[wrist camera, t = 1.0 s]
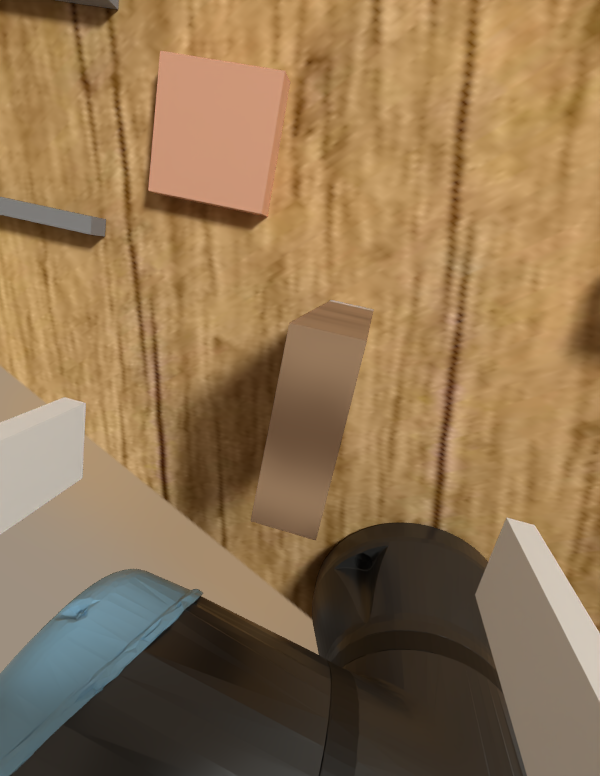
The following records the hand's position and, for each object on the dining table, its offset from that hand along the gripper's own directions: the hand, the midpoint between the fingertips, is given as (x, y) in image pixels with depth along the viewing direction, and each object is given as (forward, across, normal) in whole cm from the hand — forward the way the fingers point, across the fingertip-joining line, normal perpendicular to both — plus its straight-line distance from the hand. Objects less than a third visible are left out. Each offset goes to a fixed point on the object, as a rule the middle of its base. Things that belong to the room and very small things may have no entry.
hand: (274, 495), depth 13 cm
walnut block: (+19, 0, 0) cm, 19 cm away
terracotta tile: (+19, +11, -13) cm, 26 cm away
